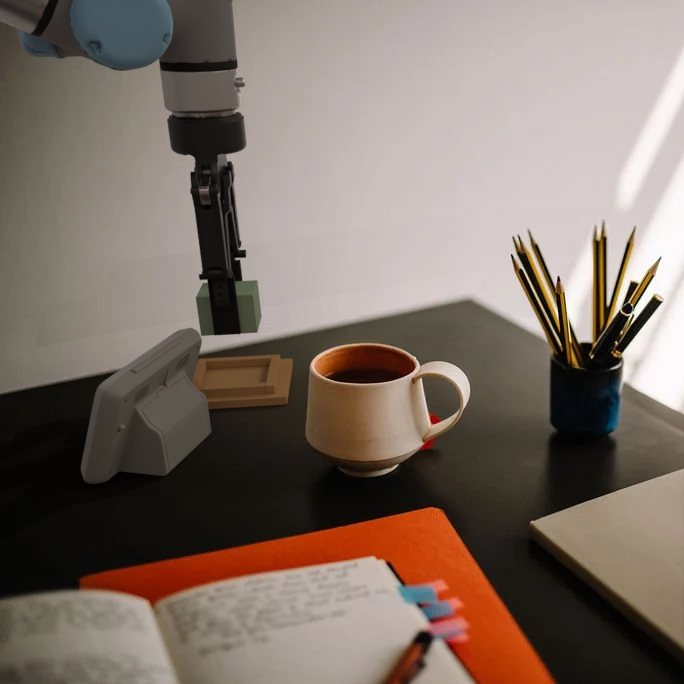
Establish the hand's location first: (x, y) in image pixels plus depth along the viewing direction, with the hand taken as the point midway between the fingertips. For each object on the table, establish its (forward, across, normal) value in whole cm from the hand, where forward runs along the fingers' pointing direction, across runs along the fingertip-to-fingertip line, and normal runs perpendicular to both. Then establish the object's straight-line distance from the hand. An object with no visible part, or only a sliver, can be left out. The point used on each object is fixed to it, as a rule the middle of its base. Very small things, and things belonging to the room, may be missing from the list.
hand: (230, 323), depth 101 cm
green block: (0, 0, 0) cm, 0 cm away
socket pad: (+8, 0, 0) cm, 8 cm away
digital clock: (+8, -14, +7) cm, 18 cm away
